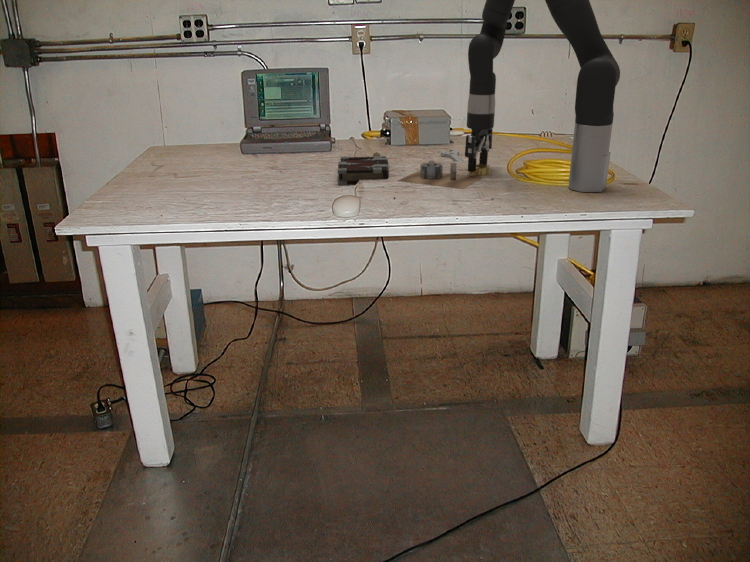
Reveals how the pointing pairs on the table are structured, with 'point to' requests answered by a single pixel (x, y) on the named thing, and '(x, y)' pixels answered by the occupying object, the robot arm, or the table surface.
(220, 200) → the table surface
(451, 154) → the adjustable wrench
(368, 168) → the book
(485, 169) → the brass gear
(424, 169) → the steel gear
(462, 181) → the gear board
